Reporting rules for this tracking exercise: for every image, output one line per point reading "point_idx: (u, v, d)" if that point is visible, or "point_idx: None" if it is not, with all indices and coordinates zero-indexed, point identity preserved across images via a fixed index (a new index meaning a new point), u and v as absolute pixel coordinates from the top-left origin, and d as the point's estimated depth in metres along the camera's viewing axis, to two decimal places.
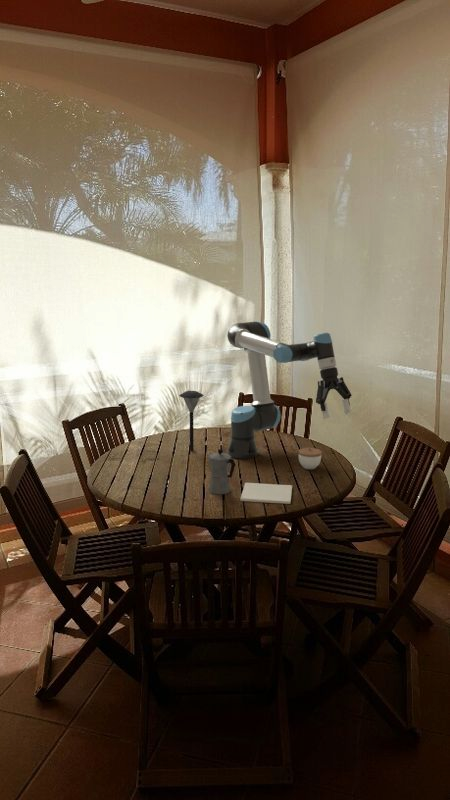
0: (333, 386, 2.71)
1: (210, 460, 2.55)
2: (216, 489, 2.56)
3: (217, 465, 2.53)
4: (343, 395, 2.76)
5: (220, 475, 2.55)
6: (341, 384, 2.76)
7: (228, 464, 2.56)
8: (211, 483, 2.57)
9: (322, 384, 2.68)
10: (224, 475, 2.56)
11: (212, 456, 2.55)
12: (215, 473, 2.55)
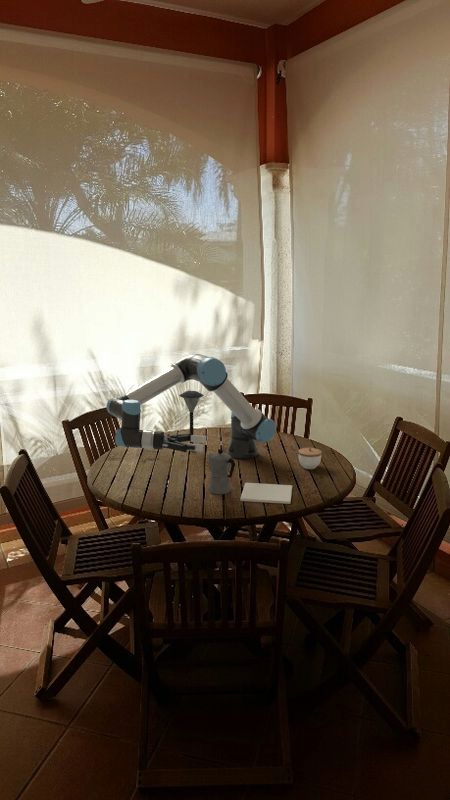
0: None
1: (210, 460, 2.55)
2: (216, 489, 2.56)
3: (217, 465, 2.53)
4: None
5: (220, 475, 2.55)
6: None
7: (228, 464, 2.56)
8: (211, 483, 2.57)
9: None
10: (224, 475, 2.56)
11: (212, 456, 2.55)
12: (215, 473, 2.55)
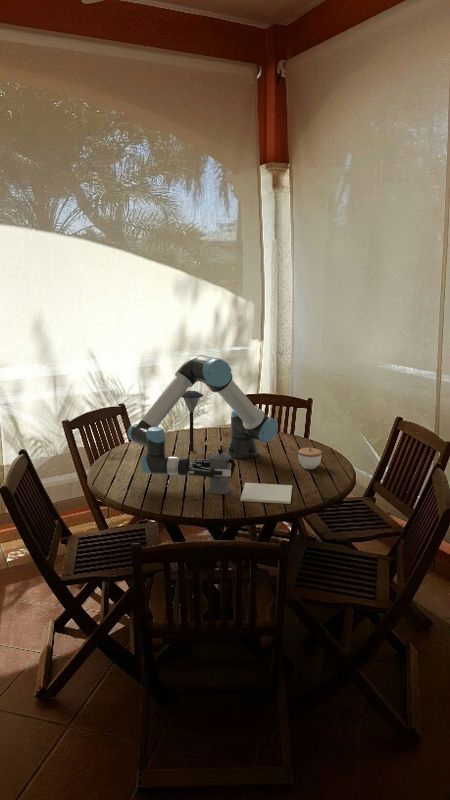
0: None
1: (210, 460, 2.55)
2: (216, 489, 2.56)
3: (217, 465, 2.53)
4: None
5: None
6: None
7: (228, 464, 2.55)
8: (211, 483, 2.57)
9: None
10: None
11: (212, 456, 2.55)
12: None
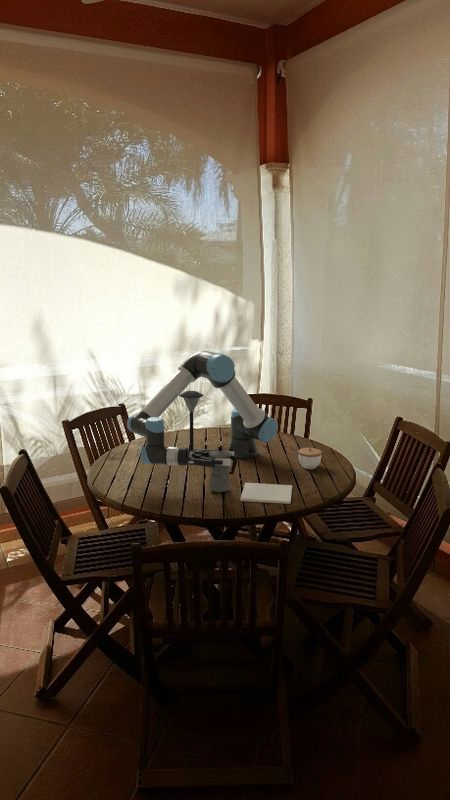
0: None
1: (211, 458, 2.54)
2: (218, 486, 2.55)
3: None
4: None
5: (221, 472, 2.54)
6: None
7: None
8: (212, 481, 2.56)
9: None
10: (225, 472, 2.55)
11: (213, 454, 2.54)
12: (216, 471, 2.54)
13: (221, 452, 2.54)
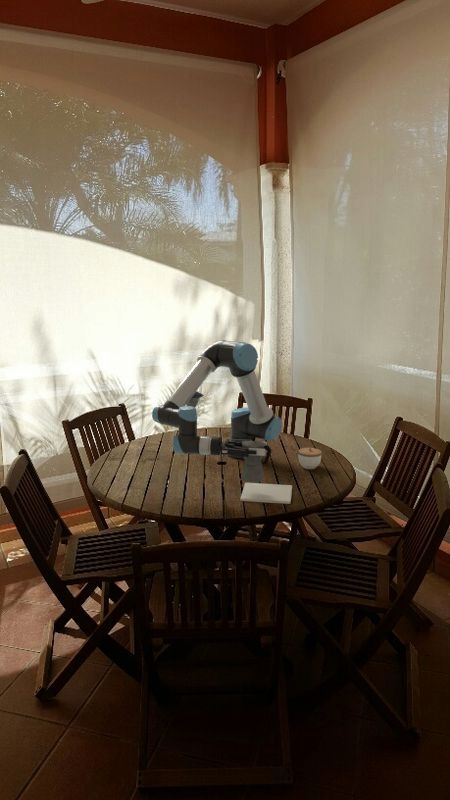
0: None
1: None
2: (251, 476, 2.51)
3: None
4: None
5: (255, 462, 2.50)
6: None
7: None
8: (245, 471, 2.52)
9: None
10: (258, 462, 2.51)
11: (246, 443, 2.50)
12: (249, 461, 2.50)
13: (255, 442, 2.50)
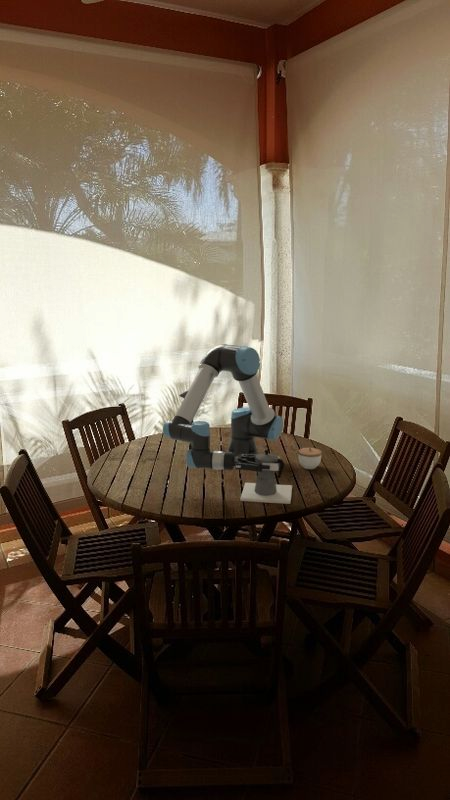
0: None
1: (257, 461, 2.51)
2: (264, 490, 2.52)
3: None
4: None
5: (268, 476, 2.51)
6: None
7: None
8: (258, 484, 2.53)
9: None
10: (271, 476, 2.52)
11: (259, 457, 2.51)
12: (263, 474, 2.51)
13: (268, 455, 2.51)
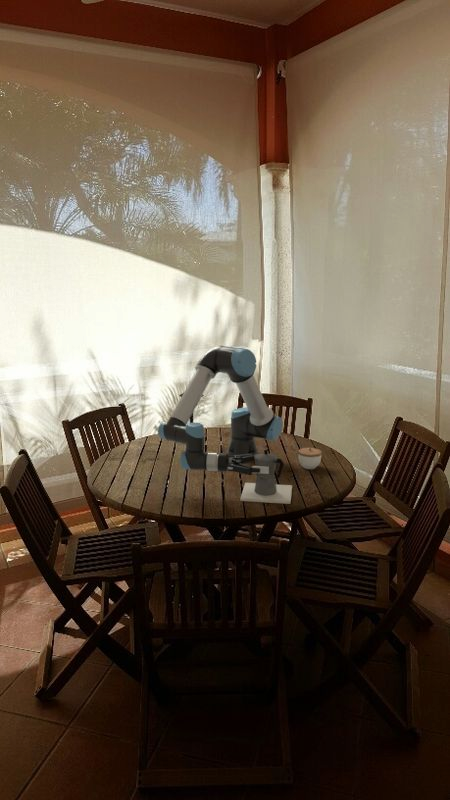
0: None
1: (257, 461, 2.51)
2: (264, 490, 2.52)
3: (265, 466, 2.50)
4: None
5: (268, 476, 2.51)
6: None
7: (275, 464, 2.52)
8: (258, 484, 2.53)
9: None
10: (271, 476, 2.52)
11: (258, 457, 2.51)
12: (262, 474, 2.51)
13: (267, 455, 2.52)
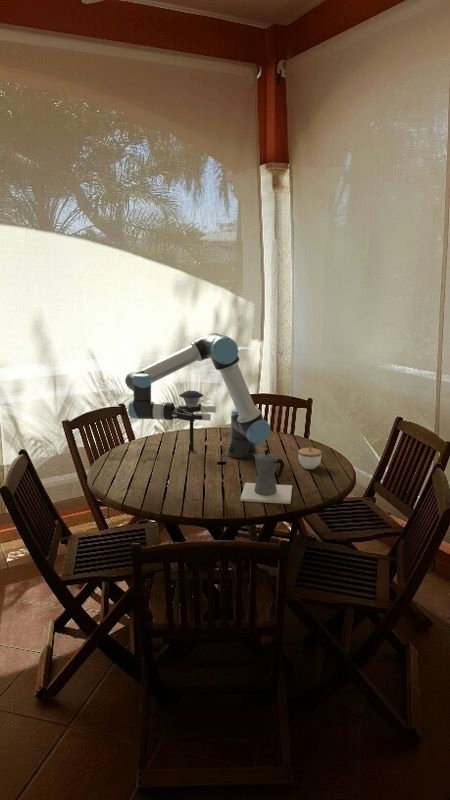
0: None
1: (257, 461, 2.51)
2: (264, 490, 2.52)
3: (265, 466, 2.50)
4: None
5: (268, 476, 2.51)
6: None
7: (275, 464, 2.52)
8: (258, 484, 2.53)
9: None
10: (271, 476, 2.52)
11: (259, 457, 2.51)
12: (263, 474, 2.51)
13: (267, 455, 2.52)
